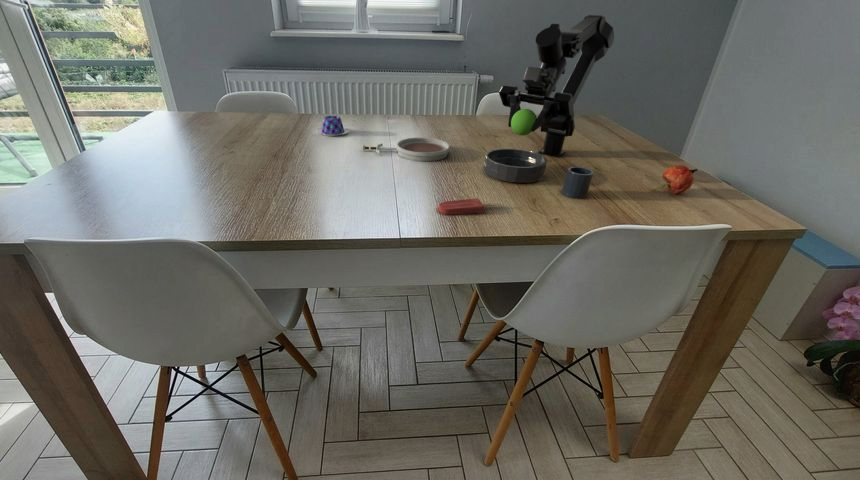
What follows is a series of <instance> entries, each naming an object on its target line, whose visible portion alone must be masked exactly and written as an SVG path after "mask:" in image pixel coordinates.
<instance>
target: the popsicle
mask: <svg viewBox="0 0 860 480" xmlns="http://www.w3.org/2000/svg"><path fill="white" fill-rule="evenodd" d="M501 205H502V202H490V203H483V202H482V201H481V200H480V199H479V198H466V199H457V200H447V201H446V200H445V201H441V202H439V204H438V209H437V210H438V212H439V213H441V214H442V215H448V216H450V215H451V216H452V215H468V214H483V213H484V212H485V207H491V206H493V207H494V206H501Z"/></svg>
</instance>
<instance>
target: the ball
mask: <svg viewBox="0 0 860 480" xmlns="http://www.w3.org/2000/svg"><path fill="white" fill-rule="evenodd" d="M537 117H538V116H537V115H536V113H535V112H534V111H533V110H531V109H530V108H521V110H519V111H517V112H516V113H515V114H514V116H513V117H512V120H511V127H510V128H511V130H512V131H513V132H514V133H515V134H516V135H518V136H527V135H529V134H531V133H533V132H532V130H531V129H532V127H533V124H534V123H535V121H536V119H537Z"/></svg>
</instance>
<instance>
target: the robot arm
mask: <svg viewBox="0 0 860 480" xmlns="http://www.w3.org/2000/svg"><path fill="white" fill-rule="evenodd" d="M614 40H615V32H614V27H613V26H612V25H611V24H609V23H608V21H607V20H606V17H605V16H603V14H587V15H586V16H584V18H583V19H582V20H581V21H580V22H578V23H576V24H575V25H574V26H572V27H571V28H569V29H561V26H560V23H551V24H550V25H549V27H546V28H544V29H542V30H541V31H540V32H539V33H537V35H536V36H535V45H536V46H535V47H536V49H537V55H538V60H539V61H540V62H541V65H540V67H534V66H527V67H526V70H525V73H524V75H523V79H522V82H523V83H525V86H524V90H525V91H526V93H525V92H521V91H520V90H519V87H518V85H517V86H516V85H509V84H503V85H502V86H501V87H500V89H499V91H498V94H499V98H500V101H501V104H502V106H504V107H506V108H509V117H508V128H512V127H511V120H512V117H513V116H514V114H515V113H516V112H517V111H519V110H521V109H522V108H521V104H522V103H528V104H530V105H536V106H542V109H541V111H540V113H539V114H538V115H537V116H536V117H537V119H536V121H535V123H534V124H533V127H532V129H531V130H532V132H531V133H534V132H535V131H537V130H538V129H539V128H540V132H541V133H546V134H545V138H544V142H543V146H542V148H541V149H539V150H538V153H537V154H542V155H546V156H547V155H548V156H552V157H555V158H557V157H560V156H562V155H563V154H565V152H566V150H564V149H563V147H564V145H565V144H564V143H565V140H566V138H567V137H572V136H573V135H574V132H575V128H576V124H575V111H574V105H575V103H576V101H577V98H578V97H579V95H580V93H581V92H582V89H583V87H584V85H585V83H586V81H587V80H588V77H589V75H590V73H591V71H592V69H593V68H594V65H595V64H596V62H598V61H600V60H601V59H602V58H604V57H605V56H606V54H607V52H608V50H609V49H611V47H612V46H613V43H614ZM579 53H581V54H580V56H579V57H578V59H577V62H576V63H575V65H574V67H573V70H572V72H570V76H569V77H568V80H567V81H566V83H565V85H564V87H563V89H562V91H557V92H556V90H557V84H558V81H559V80H560V79H561V76H562V75H565V73H566V66H567V59H574V58H575V57H576V56H577V55H578V54H579ZM553 93H554V96H553V97H551V95H552V94H553Z"/></svg>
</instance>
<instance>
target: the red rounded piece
mask: <svg viewBox="0 0 860 480" xmlns="http://www.w3.org/2000/svg"><path fill="white" fill-rule="evenodd" d="M696 172H698V168H694V169H690V168H689V167H688V166H687V165H684V164H683V165H682V164H674V165H671V166H669V167H668V168H666V169H665V170H664V171H663V173H662V179H663V181H664V182H665V183H664V184H663V185H661V186H659V187H656V188H654V189H653V190H652V191H657V190H659V189H661V188H663V187H666V189H667V190H668V191H669V192H671V194H673V195H681V194H683V193H685V192H687V191H688V190H690V189H691V187H692V185H693V184H694V179H695V178H694V176H693V175H694V173H696Z"/></svg>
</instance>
